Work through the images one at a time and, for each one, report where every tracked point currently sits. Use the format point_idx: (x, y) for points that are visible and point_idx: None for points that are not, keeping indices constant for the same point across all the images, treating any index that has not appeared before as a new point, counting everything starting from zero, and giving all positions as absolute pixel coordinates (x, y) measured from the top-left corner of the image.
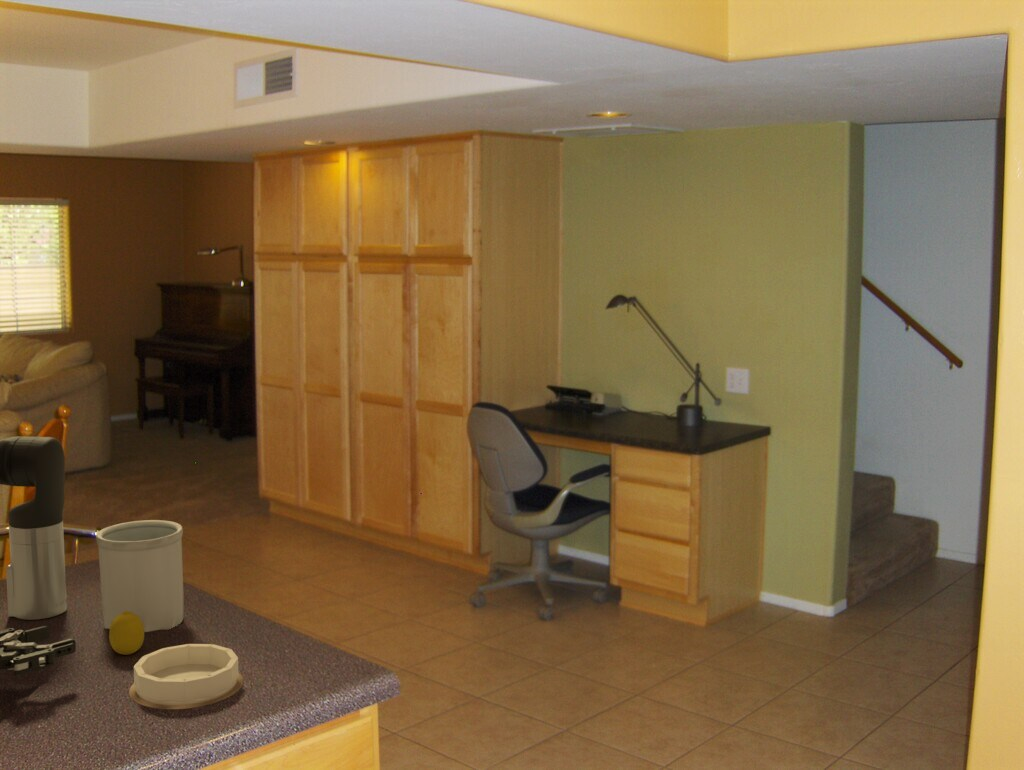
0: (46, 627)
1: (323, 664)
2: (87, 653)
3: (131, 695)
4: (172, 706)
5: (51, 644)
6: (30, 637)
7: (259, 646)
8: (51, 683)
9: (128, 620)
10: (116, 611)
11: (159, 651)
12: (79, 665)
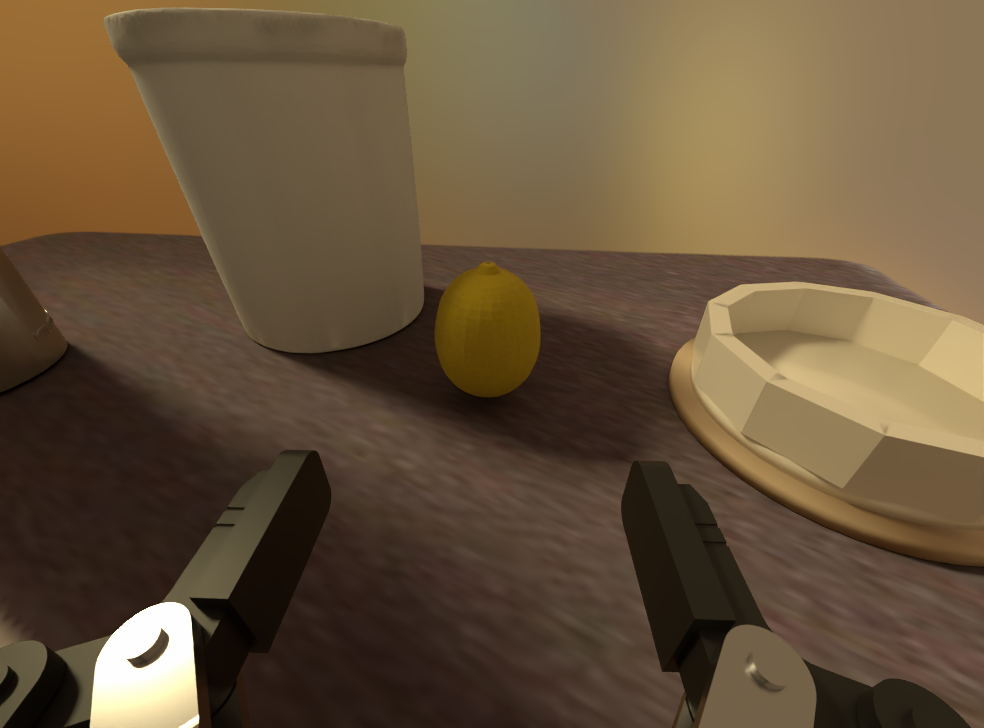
0: (308, 459)
1: (767, 274)
2: (358, 436)
3: (897, 533)
4: None
5: (711, 615)
6: (266, 593)
7: (625, 280)
8: (501, 680)
9: (522, 289)
10: (323, 291)
11: (737, 345)
12: (421, 496)
